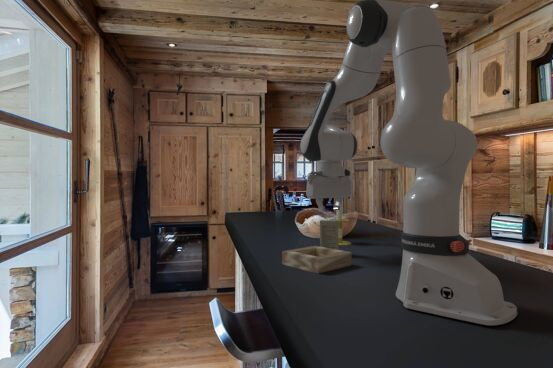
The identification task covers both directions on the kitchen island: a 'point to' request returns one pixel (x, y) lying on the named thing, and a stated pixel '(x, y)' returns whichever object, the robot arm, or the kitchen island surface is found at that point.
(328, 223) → the skincare box
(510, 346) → the kitchen island surface
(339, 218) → the candle
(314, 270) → the wooden tray
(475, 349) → the kitchen island surface
